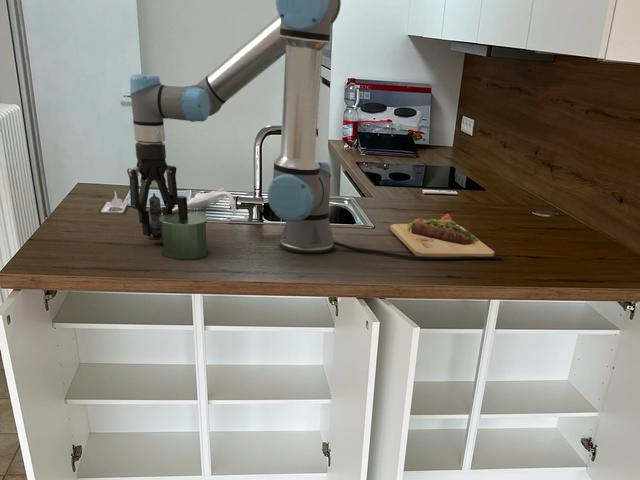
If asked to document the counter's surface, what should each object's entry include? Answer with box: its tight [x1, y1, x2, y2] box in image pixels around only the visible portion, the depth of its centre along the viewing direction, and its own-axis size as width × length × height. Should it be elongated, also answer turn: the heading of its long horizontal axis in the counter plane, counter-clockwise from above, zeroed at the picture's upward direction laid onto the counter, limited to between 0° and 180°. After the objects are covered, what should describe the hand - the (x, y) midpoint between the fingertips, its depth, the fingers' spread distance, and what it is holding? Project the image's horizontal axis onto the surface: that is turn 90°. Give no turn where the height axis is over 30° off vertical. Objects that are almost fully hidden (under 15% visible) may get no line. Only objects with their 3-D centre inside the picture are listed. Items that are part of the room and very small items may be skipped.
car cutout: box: [100, 190, 129, 215], centre depth 239 cm, size 15×7×4 cm, turn 9°
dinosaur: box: [161, 186, 237, 216], centre depth 244 cm, size 25×9×16 cm
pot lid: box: [159, 195, 208, 226], centre depth 193 cm, size 12×12×7 cm
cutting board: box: [389, 213, 495, 257], centre depth 222 cm, size 35×23×8 cm
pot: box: [162, 222, 208, 260], centre depth 197 cm, size 11×11×8 cm
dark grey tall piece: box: [147, 192, 163, 242], centre depth 202 cm, size 6×6×12 cm
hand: (157, 233), depth 205 cm, fingers closed on dark grey tall piece, 6 cm apart
